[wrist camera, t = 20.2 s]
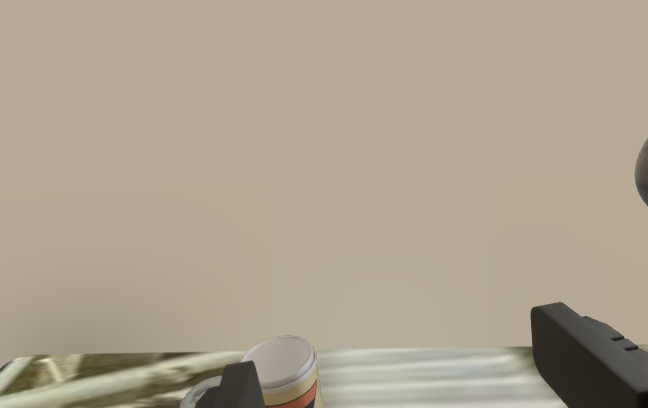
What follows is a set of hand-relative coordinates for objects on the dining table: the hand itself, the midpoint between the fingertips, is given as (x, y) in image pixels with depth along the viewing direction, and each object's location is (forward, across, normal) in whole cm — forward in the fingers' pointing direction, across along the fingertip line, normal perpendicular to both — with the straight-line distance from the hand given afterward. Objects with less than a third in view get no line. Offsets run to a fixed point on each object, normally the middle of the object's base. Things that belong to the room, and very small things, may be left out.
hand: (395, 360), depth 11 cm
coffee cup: (+32, +10, +32) cm, 46 cm away
